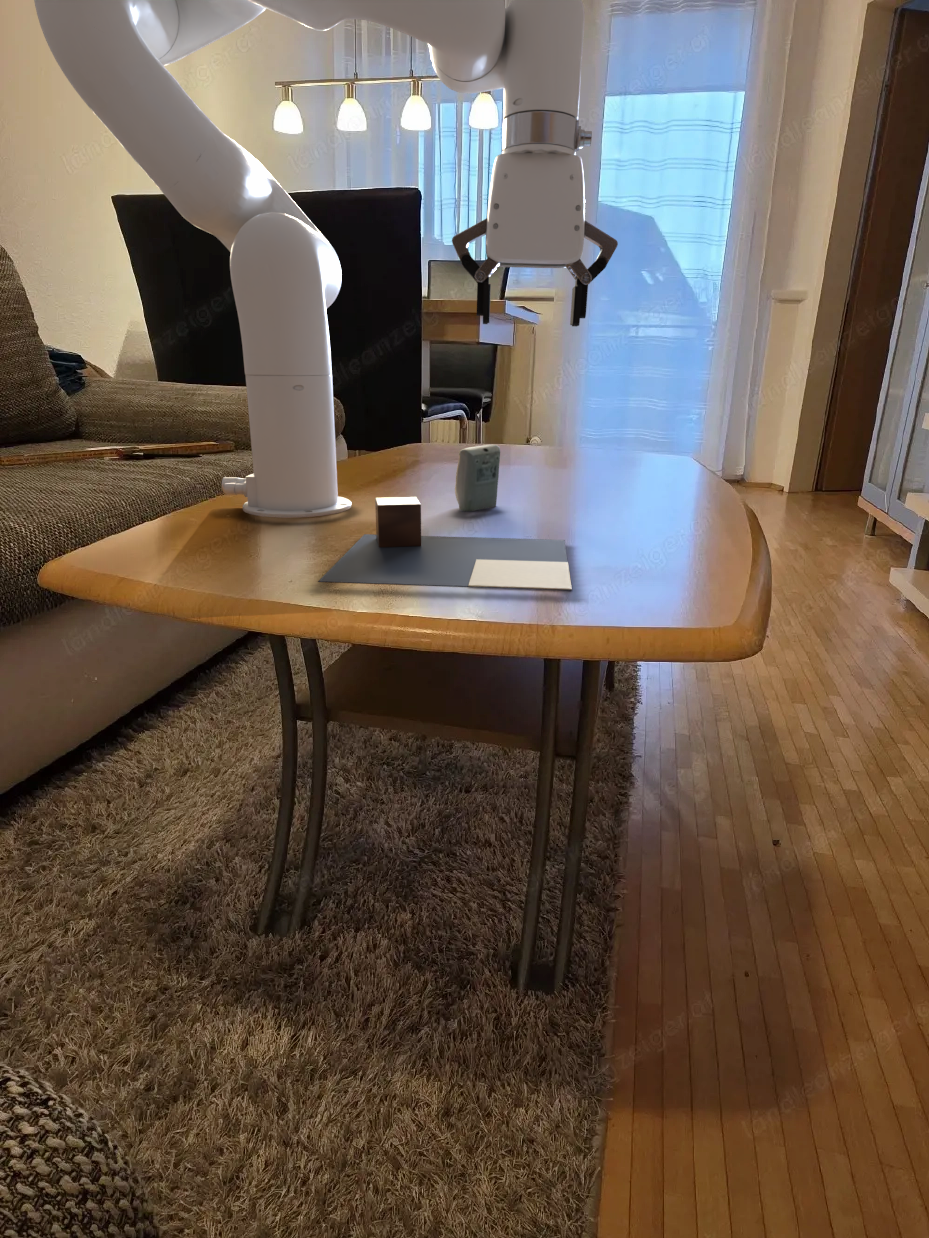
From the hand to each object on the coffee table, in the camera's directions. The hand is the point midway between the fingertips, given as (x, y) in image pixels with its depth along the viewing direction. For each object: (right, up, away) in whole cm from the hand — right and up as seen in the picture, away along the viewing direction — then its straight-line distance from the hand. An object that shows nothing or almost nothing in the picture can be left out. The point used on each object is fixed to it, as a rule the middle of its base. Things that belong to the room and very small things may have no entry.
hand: (530, 324), depth 82 cm
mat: (-8, -27, -15) cm, 32 cm away
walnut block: (-13, -25, -9) cm, 29 cm away
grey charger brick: (-6, -20, +8) cm, 22 cm away
